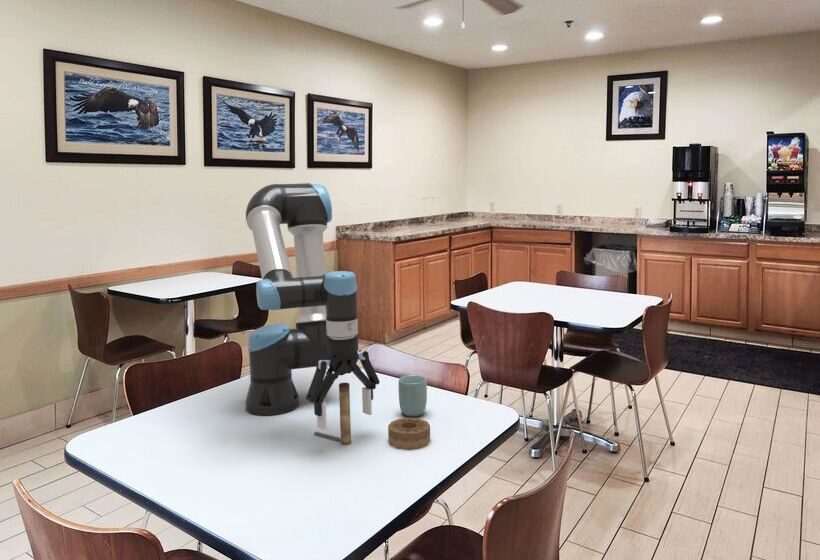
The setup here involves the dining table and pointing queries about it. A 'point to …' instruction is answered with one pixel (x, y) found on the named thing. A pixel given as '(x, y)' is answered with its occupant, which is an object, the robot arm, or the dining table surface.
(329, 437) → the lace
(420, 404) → the cup
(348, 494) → the dining table surface
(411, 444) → the bead
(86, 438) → the dining table surface
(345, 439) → the wooden rod
